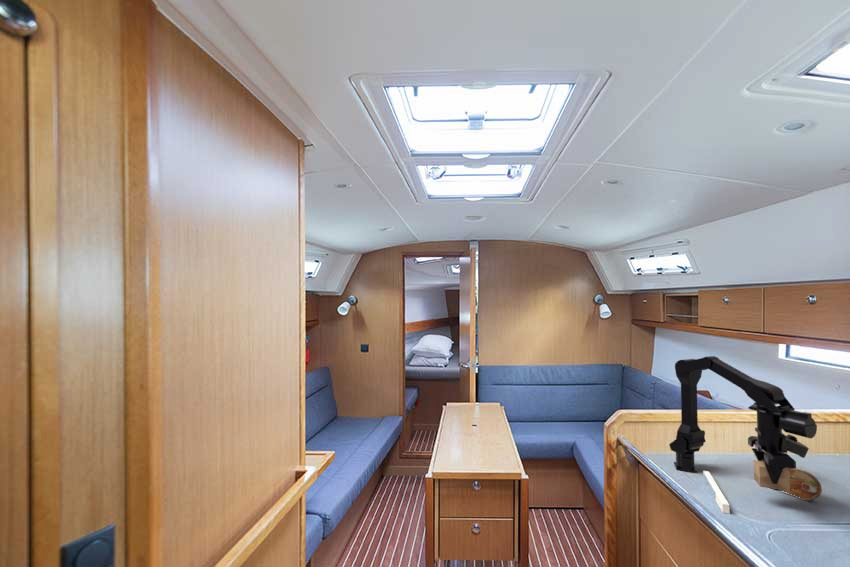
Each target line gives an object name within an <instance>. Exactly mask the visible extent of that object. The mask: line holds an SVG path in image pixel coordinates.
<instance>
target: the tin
mask: <svg viewBox="0 0 850 567" xmlns="http://www.w3.org/2000/svg"><path fill="white" fill-rule="evenodd" d="M787 469H788V470H789V479H790V491H786V490H781V491H784V492H787V493H789V494H792V495H795V496H797V497H800V498H802V499H804V500H803V501H807V502H809V501H814V500H816V499H818V498H820V497H821V495H822V491H823V489H822V485H821V483H820V481H819V479H818V478H817V477H815V476H814V475H813V474H812V473H810V472H809V471H805V470H803V469H798V468H797V467H796V468H795V469H793V468H787ZM778 490H779V489H778ZM802 499H801V500H802Z"/></svg>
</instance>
